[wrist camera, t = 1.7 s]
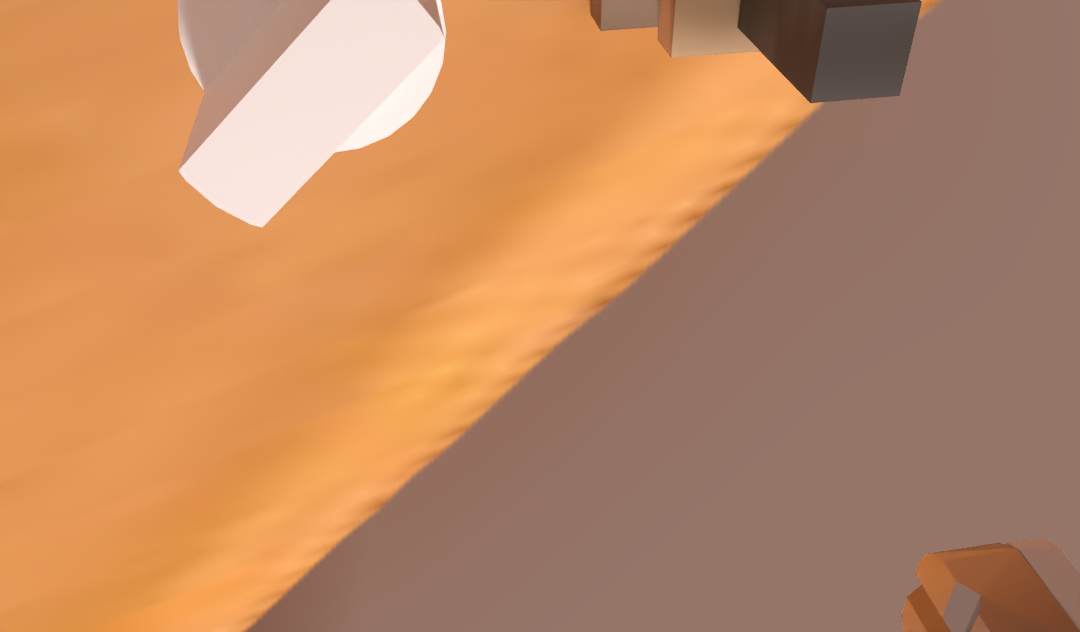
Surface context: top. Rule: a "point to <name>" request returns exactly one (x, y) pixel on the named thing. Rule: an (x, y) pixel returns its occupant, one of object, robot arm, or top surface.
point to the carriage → (802, 40)
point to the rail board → (625, 14)
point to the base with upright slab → (298, 89)
